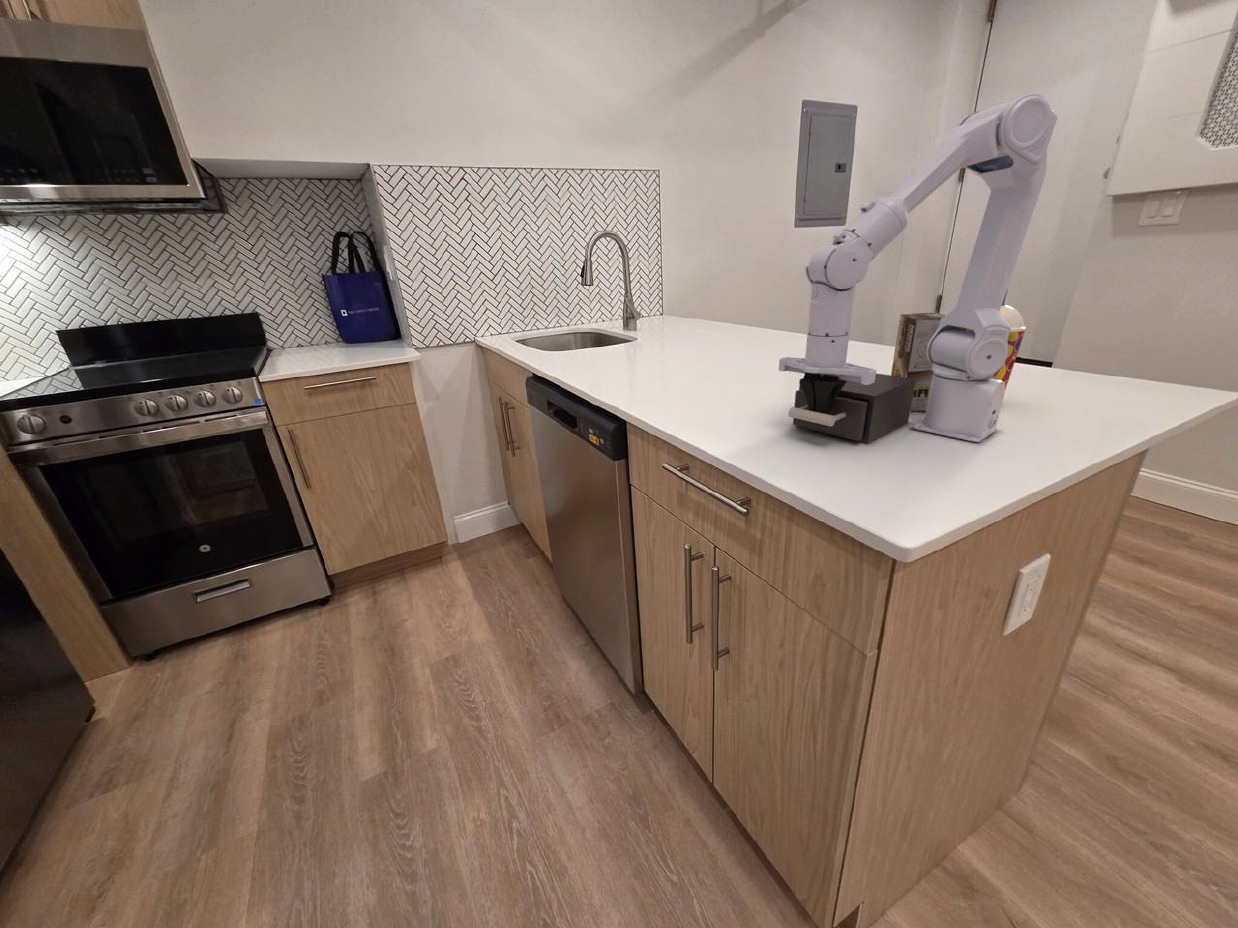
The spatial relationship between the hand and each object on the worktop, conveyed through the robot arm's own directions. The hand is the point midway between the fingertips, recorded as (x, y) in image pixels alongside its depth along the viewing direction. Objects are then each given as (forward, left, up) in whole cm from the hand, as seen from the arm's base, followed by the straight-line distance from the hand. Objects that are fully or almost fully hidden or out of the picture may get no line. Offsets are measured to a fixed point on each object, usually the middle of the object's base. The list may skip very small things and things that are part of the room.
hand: (818, 422), depth 78 cm
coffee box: (-2, -29, -3) cm, 29 cm away
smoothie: (-10, -38, -3) cm, 39 cm away
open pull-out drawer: (0, -6, -2) cm, 6 cm away
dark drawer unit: (0, -11, -3) cm, 11 cm away
